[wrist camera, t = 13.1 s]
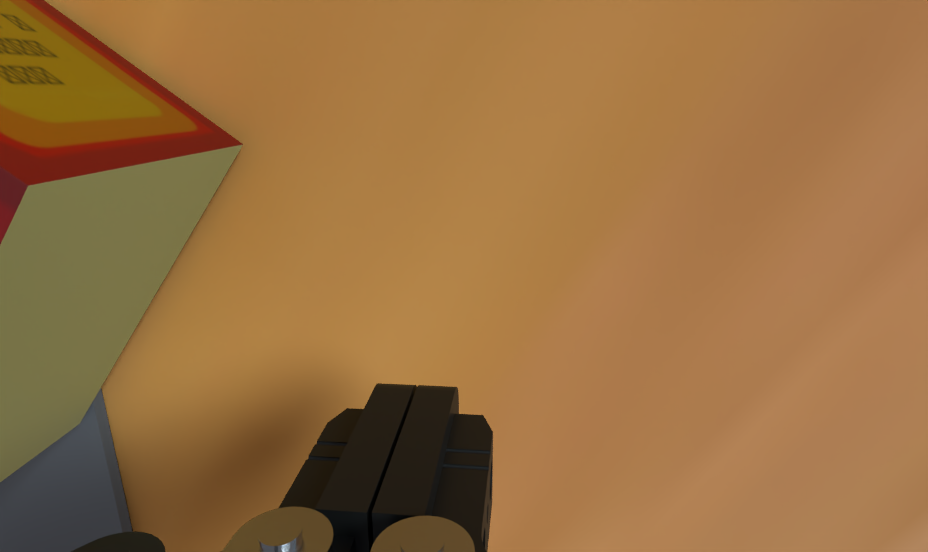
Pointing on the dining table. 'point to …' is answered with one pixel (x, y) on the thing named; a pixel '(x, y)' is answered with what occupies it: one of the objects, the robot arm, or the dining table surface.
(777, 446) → the dining table surface
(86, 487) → the bookend
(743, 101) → the dining table surface
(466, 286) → the dining table surface
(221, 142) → the baking soda box
